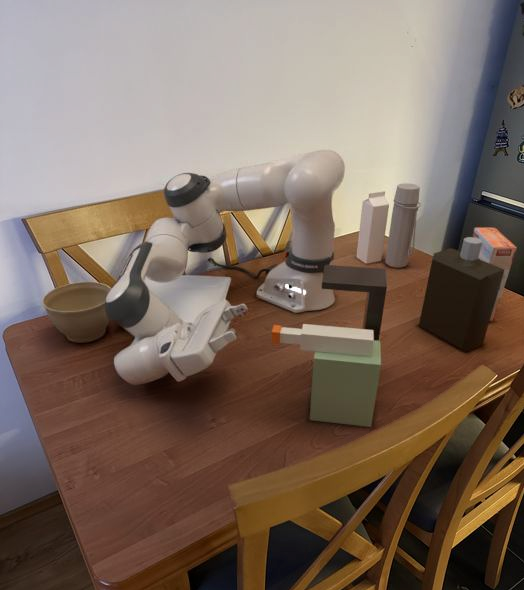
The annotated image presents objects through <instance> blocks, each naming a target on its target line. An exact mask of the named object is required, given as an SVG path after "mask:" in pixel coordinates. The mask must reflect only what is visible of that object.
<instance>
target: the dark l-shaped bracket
mask: <svg viewBox="0 0 524 590" xmlns="http://www.w3.org/2000/svg"><path fill="white" fill-rule="evenodd" d="M322 289H330V290H333V291H346V292H357V293H366V299H365V306H364V314H363V321H362V328H361V329H367V330H373V331H374V340H376V341H380V334H381V328H382V321H383V316H384V310H385V301H386V296H387V289H388V284H387V270H386V268H378V267H364V266H350V265H336V264H334V265H325V268H324V273H323V279H322Z"/></svg>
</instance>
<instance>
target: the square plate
mask: <svg viewBox="0 0 524 590" xmlns="http://www.w3.org/2000/svg"><path fill="white" fill-rule="evenodd" d="M144 282H145V284H146V285H147V286H148V288H149V289H150V290H151V291H152V292H153V293H154V294H155V295H156V296H157V297H158V298H159V299H160V300H162V301H163V302H164V303H165V304H166V305H167V306H168V307H170V308H171V309H172V310H173V311H174V312H175V313H176V314H177V315H178V316H179V317H180V318H181V319H182V321H183V322H186V323H188V324H189V325H192V324H193V322H194V320H195V319H196V317H197V315H198V314H199V313H200V312H202V311H203V310H205V309H207V308H209V307H210V306H212V305H214V304H216V303H218V302H220V301H222V300H227V296H228V292H229V289H230V286H231V282H232V277H230V276H214V275H192V274H191V275H188V274H182V276H180V277H179V278H178V279H176V280H174V281H172V282H167V283H159V282H155V281H152V280H150V279H149V278H147V277H145V279H144Z"/></svg>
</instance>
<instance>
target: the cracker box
mask: <svg viewBox="0 0 524 590" xmlns="http://www.w3.org/2000/svg"><path fill="white" fill-rule="evenodd" d="M471 237H474V238H478V239H481V240H482V246H481V250H480V254H479V257H478V258H479V259H480V260H482V261H485V262H487V263H490V264H492V265H495V266H497V267H500V268H502V269H504V274H503V278H502V281H501V284H500V288H499V291H498V294H497V298H496V301H495V305H494V308H493V311H492V315H491V318H490V321H489V322H494V321H495V318H496V315H497V312H498V308H499V305H500V302H501V299H502V295H503V293H504V289H505V286H506V283H507V279H508V276H509V273H510V270H511V267H512V265H513V261H514V257H515V254H516V251H517V246H515V244H514V243H512V242H511V240H509V239H508V238H507V237H506V236H505V235H503V233H501V231H499V230H498V228H496V227H480V226H479V227H474V228H473V231H472V236H471Z"/></svg>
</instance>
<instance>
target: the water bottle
mask: <svg viewBox="0 0 524 590" xmlns="http://www.w3.org/2000/svg"><path fill="white" fill-rule="evenodd" d="M420 190H421V189H420V185H418V184H415V183H407V182H403V183H399V184H397V186H396V189H395V193H394V198H393V206H392V213H391V220H390V226H389V233H388V239H387V240H388V241H387V247H386V253H385V260H384V261H385V264H386V265H387V266H388V267H391V268H393V269H394V268H395V269H401V268H404V267H406V266H407V265H408V263H409V257H410V256H412V255H413V253H414V250H415V242H416V230H417V229H416V227H417V217H418V210H419V208H420V207H421V205H422V204H421V203H420V202H419V201H420ZM411 245H412V246H411Z"/></svg>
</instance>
